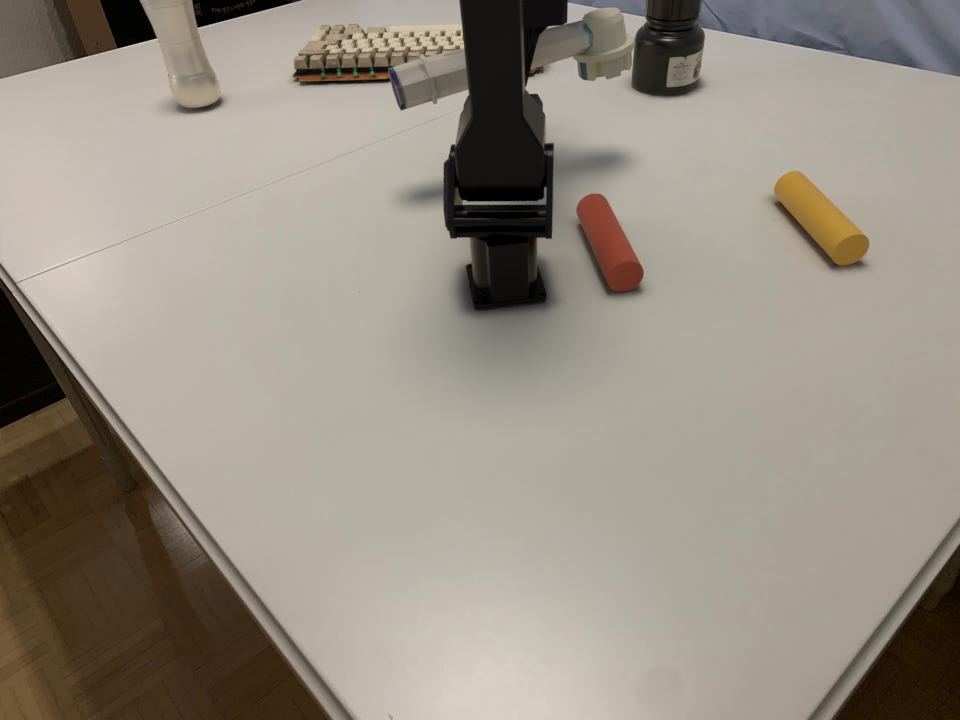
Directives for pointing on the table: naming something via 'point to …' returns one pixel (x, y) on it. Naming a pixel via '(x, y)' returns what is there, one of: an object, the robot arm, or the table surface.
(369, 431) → the table surface
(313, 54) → the mechanical keyboard
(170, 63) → the plastic bottle
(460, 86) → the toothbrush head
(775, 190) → the rod yellow
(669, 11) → the ink bottle
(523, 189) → the robot arm
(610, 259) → the rod red
